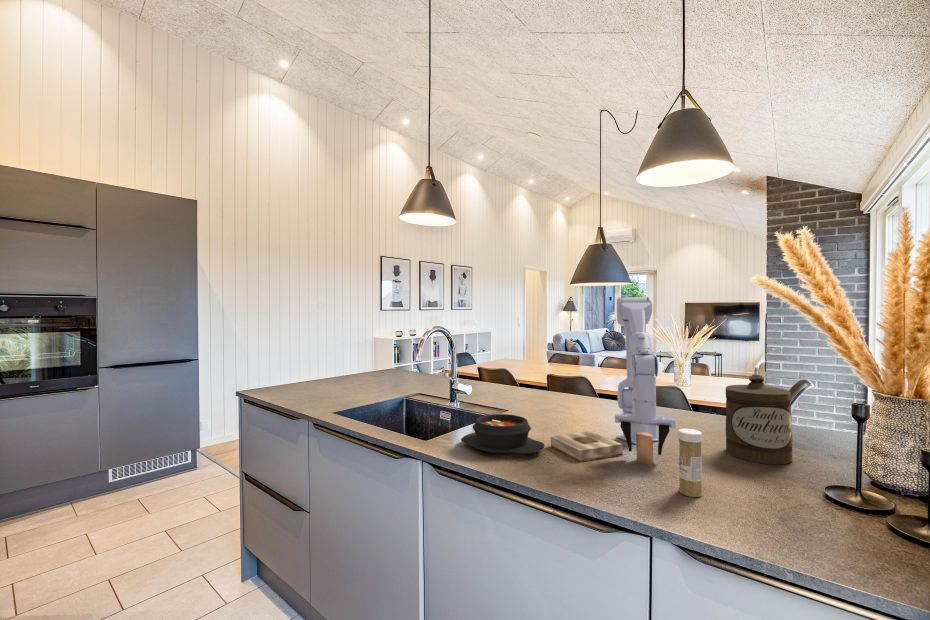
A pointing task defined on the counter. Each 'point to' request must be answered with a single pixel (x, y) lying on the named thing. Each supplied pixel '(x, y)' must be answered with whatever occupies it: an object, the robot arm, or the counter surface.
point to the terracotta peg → (644, 448)
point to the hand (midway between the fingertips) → (644, 452)
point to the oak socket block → (586, 446)
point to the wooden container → (759, 422)
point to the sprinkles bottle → (690, 462)
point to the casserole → (502, 435)
